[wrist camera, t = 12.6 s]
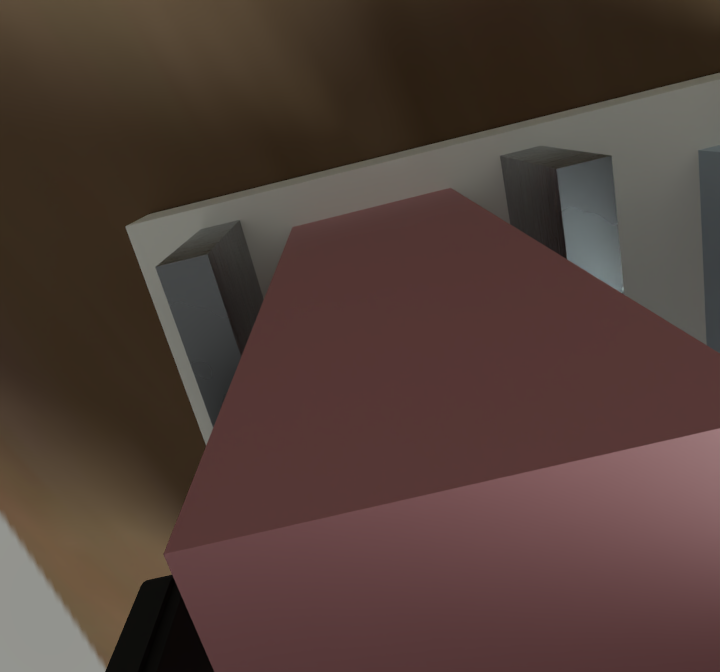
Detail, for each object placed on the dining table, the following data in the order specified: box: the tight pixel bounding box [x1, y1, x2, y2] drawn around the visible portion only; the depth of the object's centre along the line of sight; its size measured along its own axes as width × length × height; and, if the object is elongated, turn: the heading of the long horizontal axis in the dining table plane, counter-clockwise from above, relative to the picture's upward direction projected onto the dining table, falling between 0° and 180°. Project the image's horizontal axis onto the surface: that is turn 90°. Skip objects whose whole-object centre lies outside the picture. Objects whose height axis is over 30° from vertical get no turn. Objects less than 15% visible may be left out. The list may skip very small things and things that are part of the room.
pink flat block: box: [164, 188, 720, 672], centre depth 11 cm, size 4×11×12 cm, turn 14°
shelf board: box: [125, 73, 720, 445], centre depth 18 cm, size 21×13×2 cm, turn 103°
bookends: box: [155, 146, 624, 427], centre depth 15 cm, size 8×12×4 cm
